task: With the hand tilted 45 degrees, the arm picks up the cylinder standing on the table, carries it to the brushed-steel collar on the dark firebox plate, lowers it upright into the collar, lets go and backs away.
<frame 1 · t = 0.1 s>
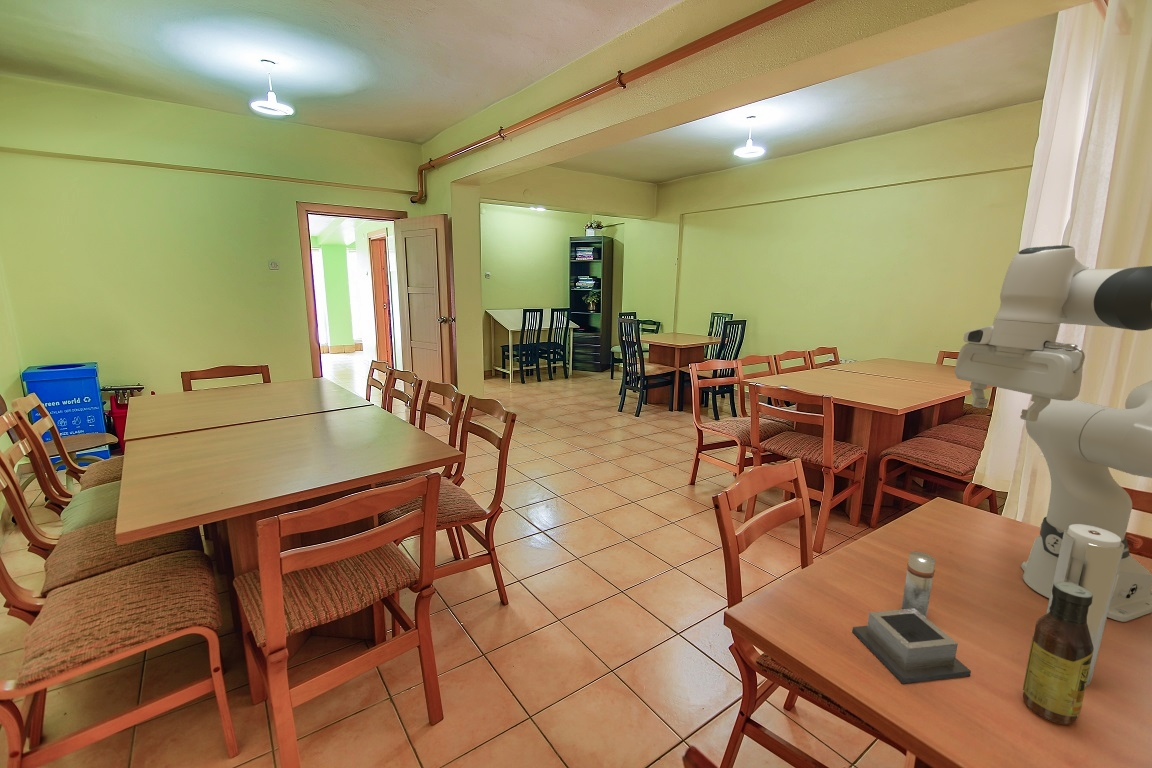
hand: (1002, 413, 90), 39 cm above the table, tool pointing down, fingers open, 8 cm apart
collar: (907, 652, 85), on the table
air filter: (1062, 672, 81), on the table
cylinder: (913, 613, 95), on the table
sauce bottle: (1047, 709, 74), on the table
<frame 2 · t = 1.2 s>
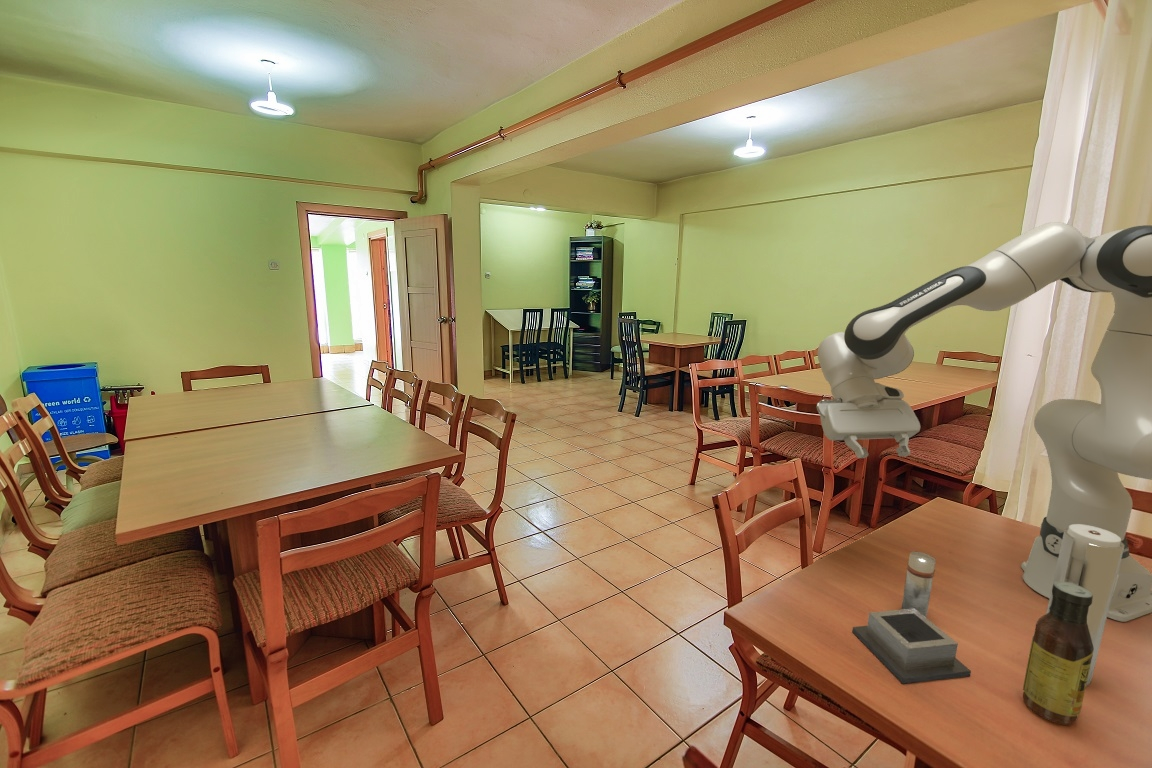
hand: (884, 456, 101), 28 cm above the table, tool tilted 45°, fingers open, 8 cm apart
nothing on the table moved.
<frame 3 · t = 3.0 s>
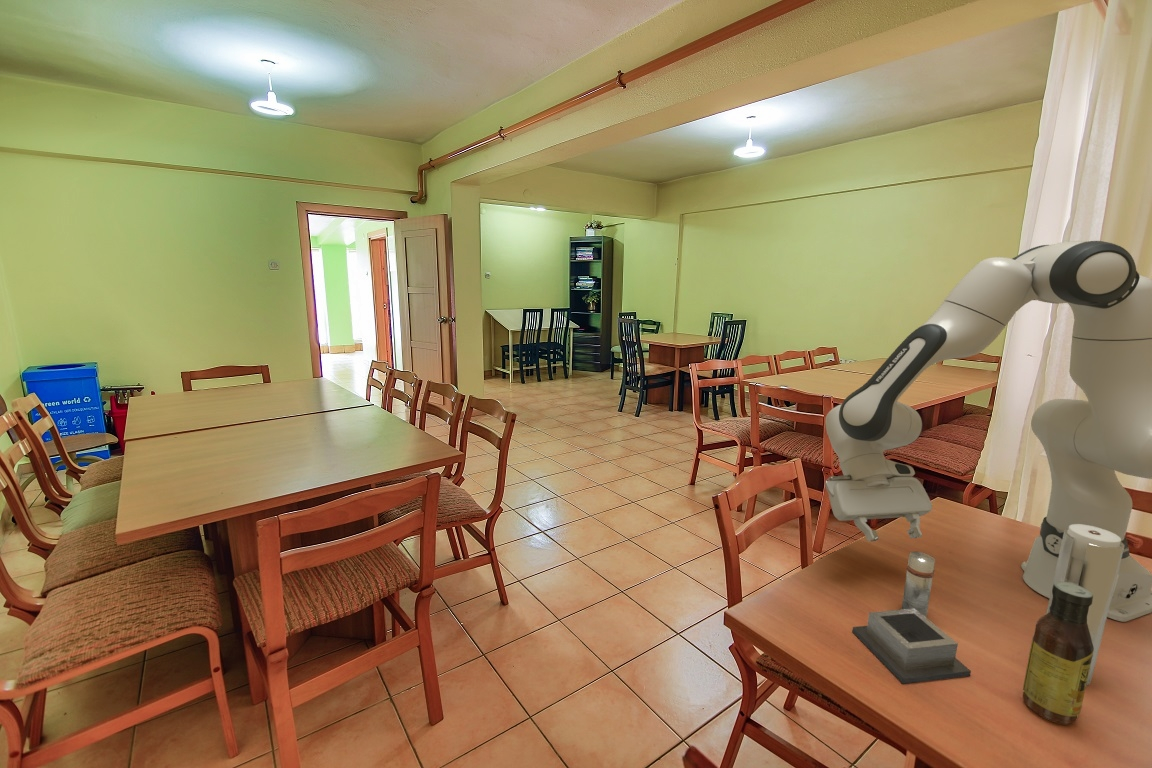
hand: (895, 539, 99), 12 cm above the table, tool tilted 45°, fingers open, 8 cm apart
nothing on the table moved.
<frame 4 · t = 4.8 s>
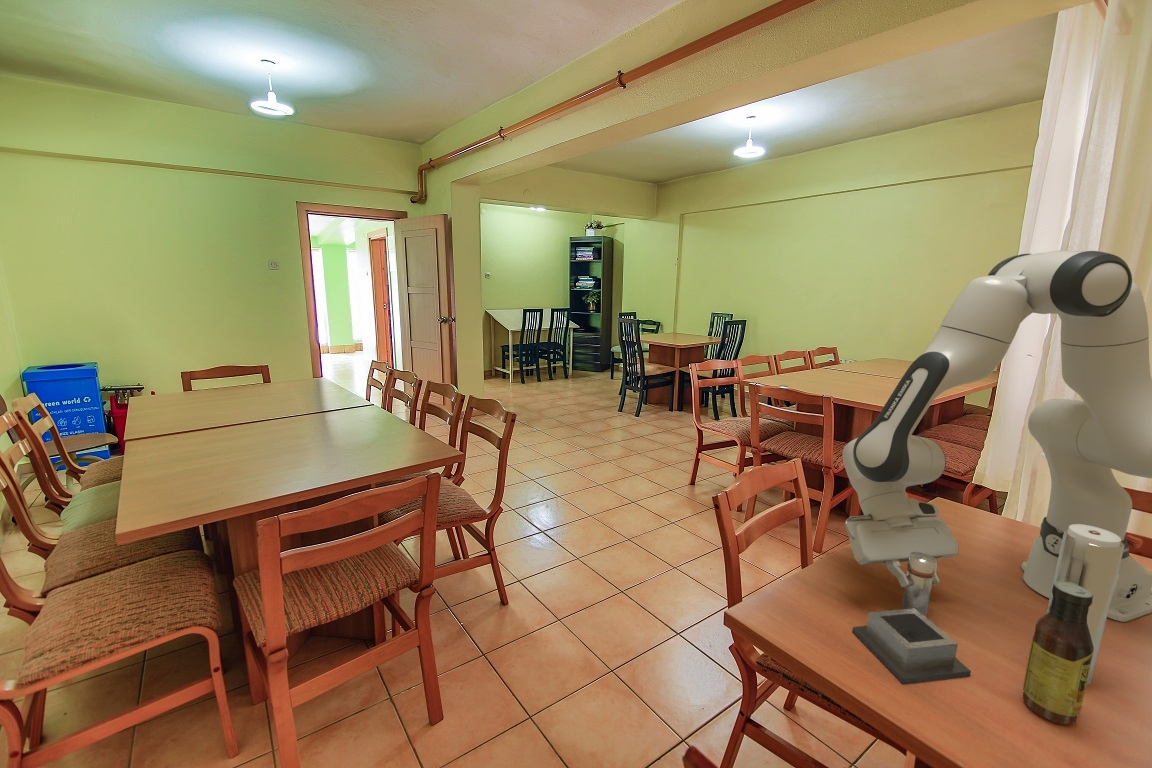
hand: (921, 585, 93), 7 cm above the table, tool tilted 45°, fingers closed on cylinder, 4 cm apart
cylinder: (913, 613, 95), on the table, touching gripper
everything else where it was.
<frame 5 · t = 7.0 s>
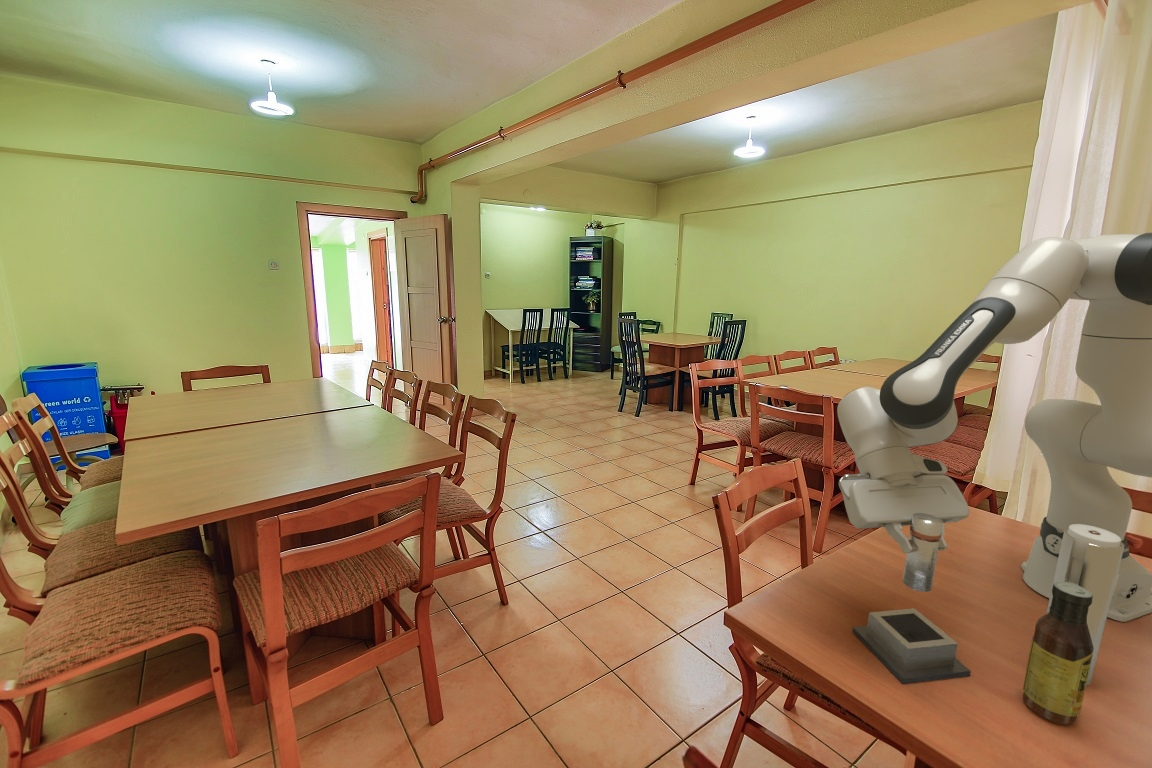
hand: (925, 551, 81), 20 cm above the table, tool tilted 45°, fingers closed on cylinder, 4 cm apart
cylinder: (916, 584, 83), point 13 cm above the table, touching gripper
everything else where it was.
when the fingers open (9 cm above the table, at t = 9.4 s): cylinder moves 1 cm, resting on collar.
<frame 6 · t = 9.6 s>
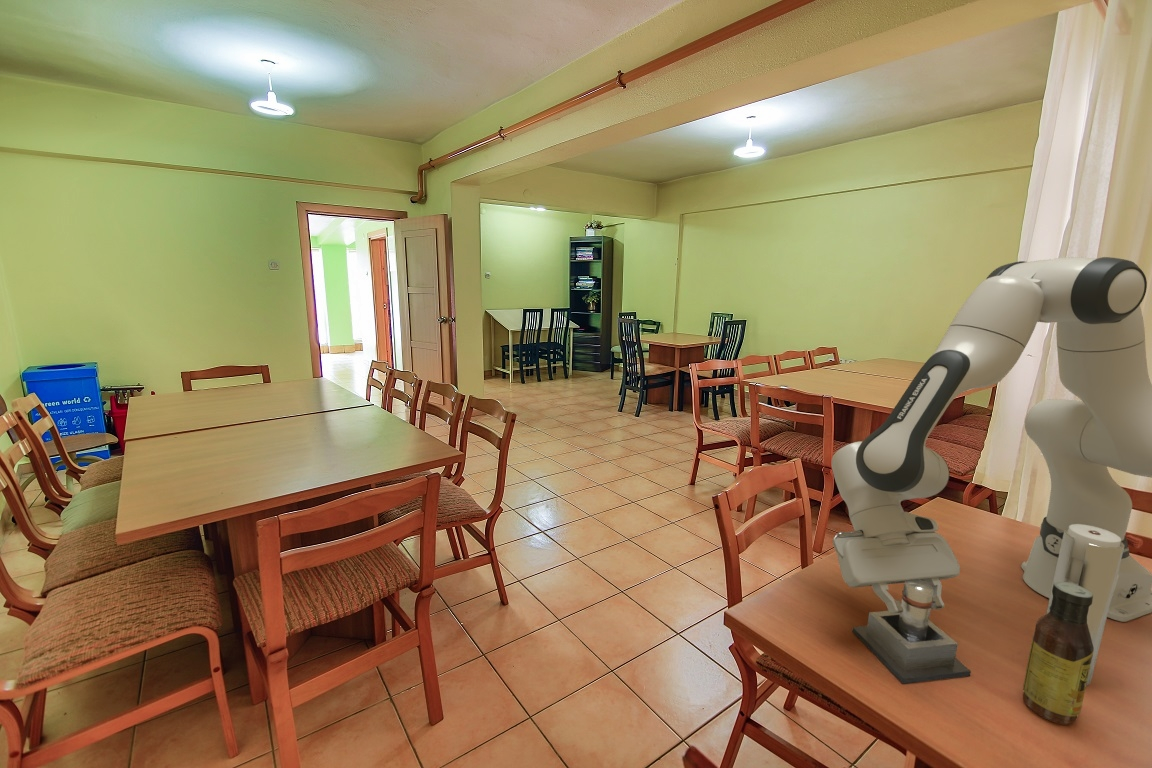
hand: (917, 610, 83), 9 cm above the table, tool tilted 45°, fingers open, 6 cm apart
cylinder: (909, 647, 85), point 1 cm above the table, touching collar
everything else where it was.
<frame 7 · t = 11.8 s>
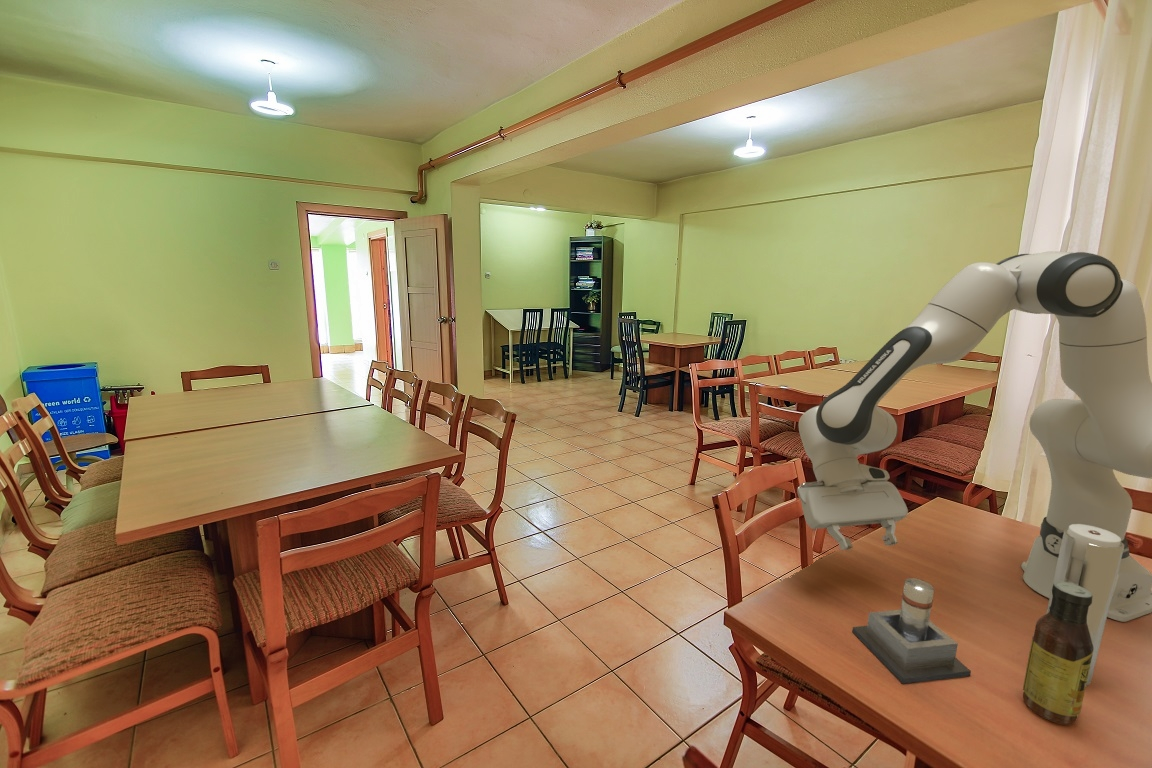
hand: (869, 546, 95), 12 cm above the table, tool tilted 45°, fingers open, 8 cm apart
nothing on the table moved.
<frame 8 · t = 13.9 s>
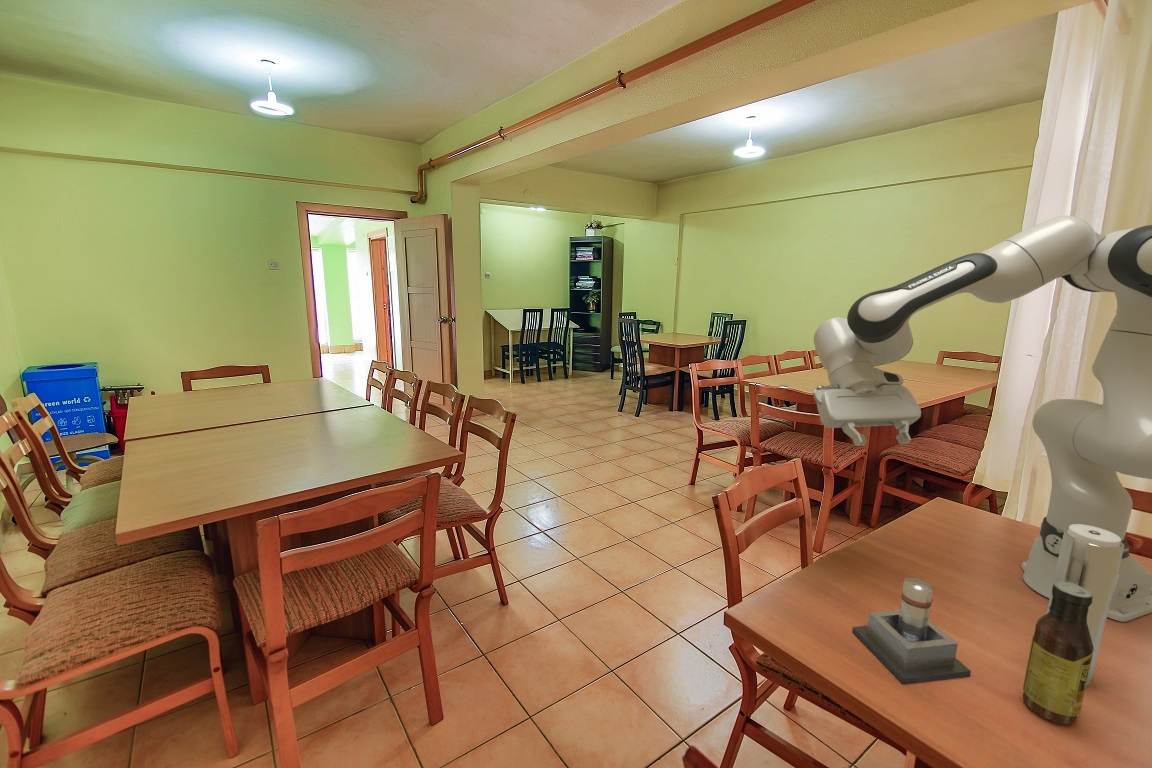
hand: (883, 443, 97), 31 cm above the table, tool tilted 45°, fingers open, 8 cm apart
nothing on the table moved.
at the end: cylinder 0.2 cm off-centre on the collar, point 1.0 cm above the collar's base; cylinder tilted 1°; the gripper is holding nothing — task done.
